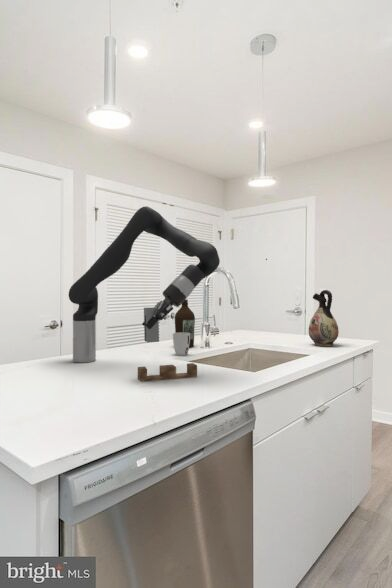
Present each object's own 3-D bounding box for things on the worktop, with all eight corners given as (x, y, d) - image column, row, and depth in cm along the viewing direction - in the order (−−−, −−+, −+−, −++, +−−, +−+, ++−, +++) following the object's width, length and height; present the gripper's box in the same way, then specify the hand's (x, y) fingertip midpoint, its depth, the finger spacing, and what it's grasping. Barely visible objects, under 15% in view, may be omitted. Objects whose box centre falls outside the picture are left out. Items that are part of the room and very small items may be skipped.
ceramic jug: (302, 344, 209) (302, 289, 209) (323, 342, 216) (324, 289, 215) (324, 348, 194) (325, 290, 193) (347, 346, 200) (347, 289, 200)
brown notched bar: (140, 381, 126) (140, 369, 126) (137, 378, 129) (137, 367, 129) (197, 376, 132) (197, 365, 132) (193, 374, 136) (193, 363, 136)
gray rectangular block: (147, 342, 128) (146, 308, 127) (144, 340, 132) (143, 307, 132) (159, 341, 129) (158, 307, 129) (155, 340, 133) (155, 307, 133)
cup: (189, 356, 173) (189, 334, 173) (172, 356, 173) (172, 334, 173) (190, 353, 181) (190, 332, 181) (173, 353, 181) (173, 332, 181)
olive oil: (171, 346, 202) (170, 299, 202) (187, 345, 208) (187, 299, 207) (181, 349, 193) (181, 299, 193) (198, 347, 199) (198, 299, 199)
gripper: (165, 283, 139) (133, 318, 135) (177, 282, 126) (142, 320, 122) (180, 297, 141) (148, 332, 137) (193, 298, 128) (158, 336, 124)
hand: (145, 326), depth 130 cm, fingers closed on gray rectangular block, 4 cm apart
